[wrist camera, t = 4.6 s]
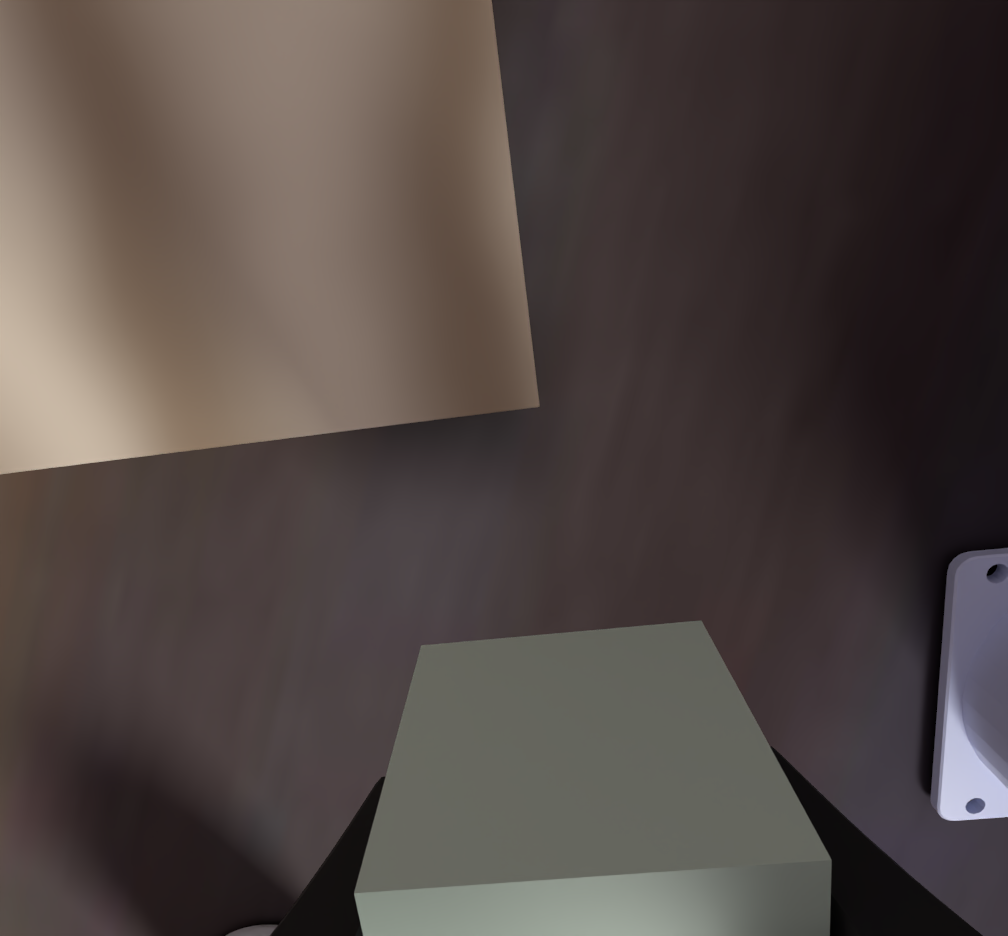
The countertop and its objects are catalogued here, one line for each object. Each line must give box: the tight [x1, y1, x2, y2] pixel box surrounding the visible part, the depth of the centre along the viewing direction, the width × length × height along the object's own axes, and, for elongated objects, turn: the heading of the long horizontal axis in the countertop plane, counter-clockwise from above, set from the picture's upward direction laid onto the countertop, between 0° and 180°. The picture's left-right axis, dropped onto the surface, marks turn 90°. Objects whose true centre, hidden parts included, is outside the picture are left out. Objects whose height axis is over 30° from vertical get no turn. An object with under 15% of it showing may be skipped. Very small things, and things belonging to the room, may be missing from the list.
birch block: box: [0, 0, 540, 474], centre depth 14 cm, size 14×14×2 cm
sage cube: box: [354, 621, 832, 936], centre depth 9 cm, size 4×4×4 cm
